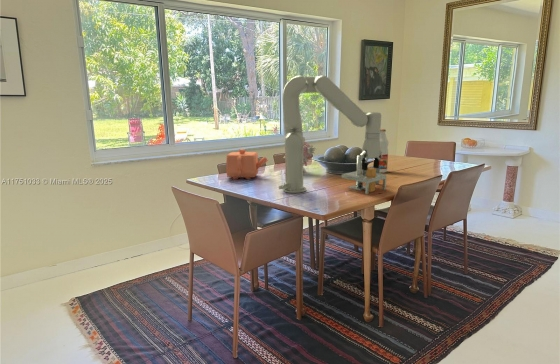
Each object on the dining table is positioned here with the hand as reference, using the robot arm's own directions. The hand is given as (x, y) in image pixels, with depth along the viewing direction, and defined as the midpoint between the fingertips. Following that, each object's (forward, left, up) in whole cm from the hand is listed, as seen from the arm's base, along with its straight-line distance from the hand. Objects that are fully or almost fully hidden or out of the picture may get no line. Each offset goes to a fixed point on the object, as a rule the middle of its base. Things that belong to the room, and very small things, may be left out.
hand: (370, 168), depth 198 cm
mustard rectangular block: (0, 0, -12) cm, 12 cm away
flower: (+2, +59, -12) cm, 60 cm away
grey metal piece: (0, +4, -12) cm, 13 cm away
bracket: (+9, +7, -12) cm, 17 cm away
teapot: (-29, +72, -12) cm, 79 cm away
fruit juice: (+46, +27, -12) cm, 55 cm away
